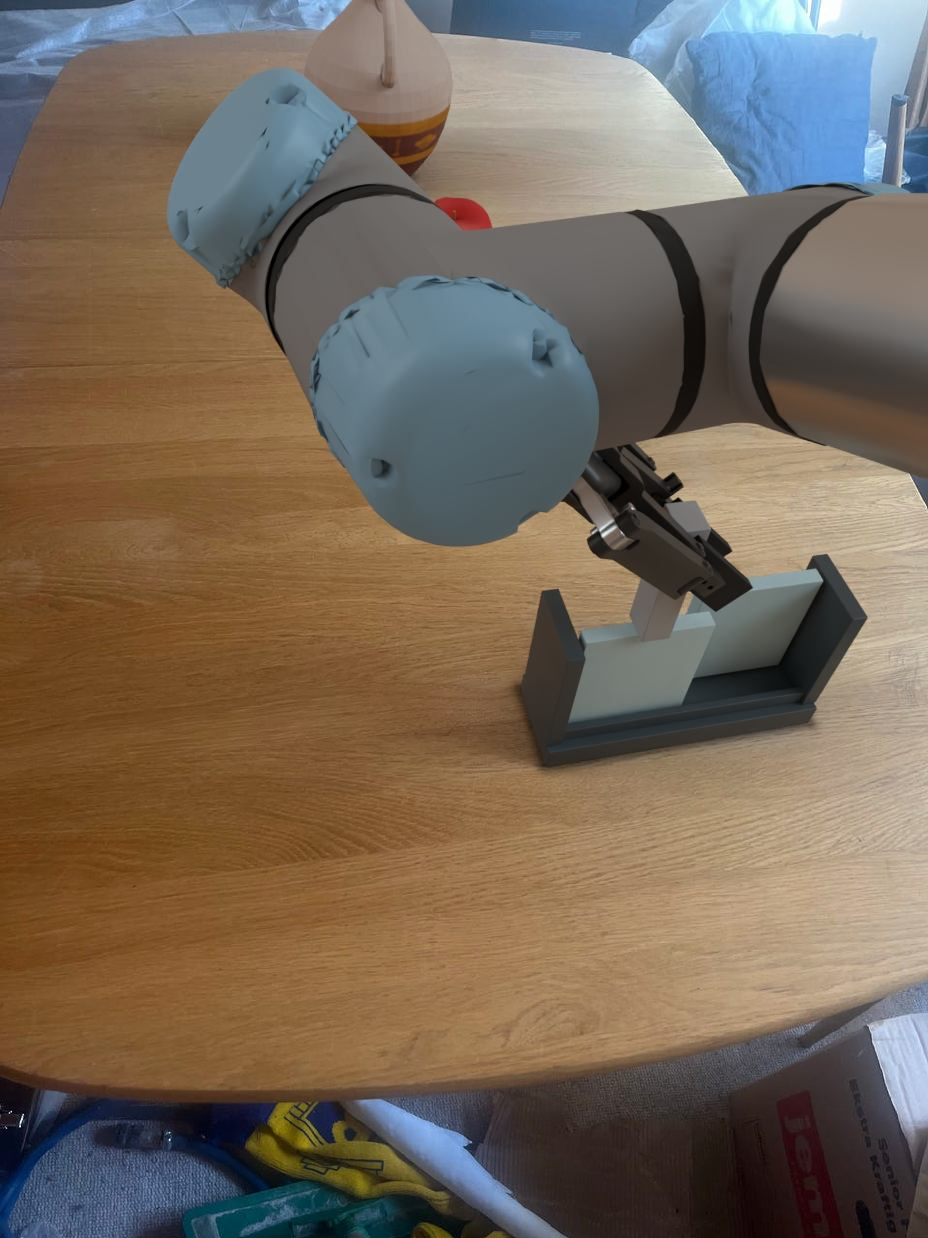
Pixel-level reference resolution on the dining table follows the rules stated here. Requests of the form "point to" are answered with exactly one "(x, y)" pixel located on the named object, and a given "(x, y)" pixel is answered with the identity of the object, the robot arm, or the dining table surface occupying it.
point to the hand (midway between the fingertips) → (721, 576)
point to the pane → (644, 647)
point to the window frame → (705, 668)
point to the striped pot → (385, 77)
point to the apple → (465, 213)
